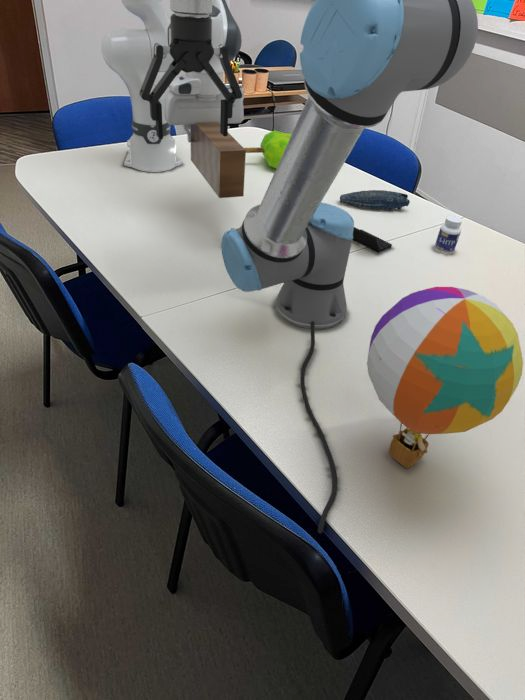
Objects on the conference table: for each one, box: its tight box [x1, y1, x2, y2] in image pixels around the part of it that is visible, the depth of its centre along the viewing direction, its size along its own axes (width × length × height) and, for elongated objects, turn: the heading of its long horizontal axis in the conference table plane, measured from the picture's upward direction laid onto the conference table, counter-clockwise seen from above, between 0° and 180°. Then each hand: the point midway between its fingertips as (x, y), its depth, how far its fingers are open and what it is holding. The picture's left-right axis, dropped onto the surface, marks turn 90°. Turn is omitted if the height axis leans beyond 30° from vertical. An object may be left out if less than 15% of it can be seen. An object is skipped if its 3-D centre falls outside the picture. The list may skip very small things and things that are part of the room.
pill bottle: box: [434, 215, 463, 255], centre depth 137 cm, size 5×5×9 cm
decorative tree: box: [243, 130, 292, 170], centre depth 179 cm, size 18×10×30 cm
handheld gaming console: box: [352, 226, 393, 254], centre depth 138 cm, size 12×7×10 cm
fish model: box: [339, 189, 411, 211], centre depth 158 cm, size 7×21×5 cm, turn 84°
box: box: [189, 122, 247, 199], centre depth 129 cm, size 26×6×11 cm, turn 21°
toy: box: [366, 286, 524, 469], centre depth 73 cm, size 20×20×30 cm
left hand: (204, 141), depth 136 cm, fingers closed on box, 6 cm apart
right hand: (192, 135), depth 107 cm, fingers open, 13 cm apart
